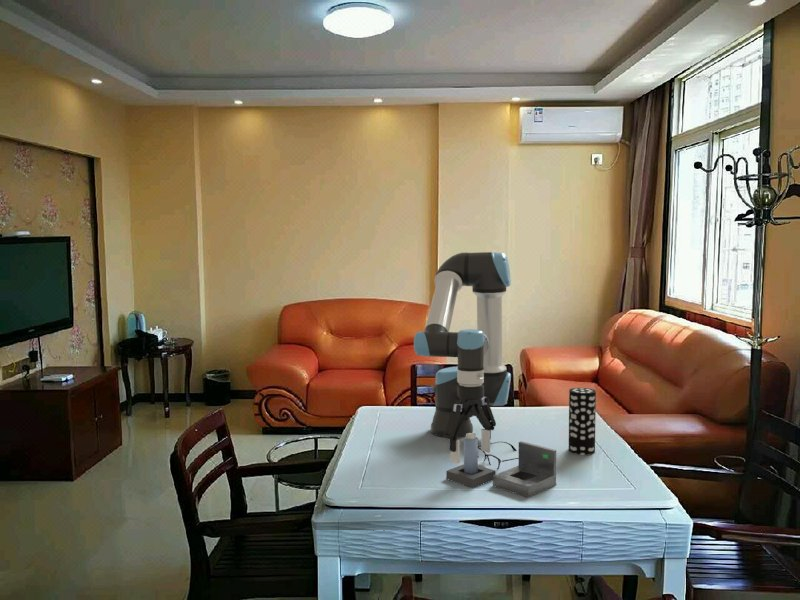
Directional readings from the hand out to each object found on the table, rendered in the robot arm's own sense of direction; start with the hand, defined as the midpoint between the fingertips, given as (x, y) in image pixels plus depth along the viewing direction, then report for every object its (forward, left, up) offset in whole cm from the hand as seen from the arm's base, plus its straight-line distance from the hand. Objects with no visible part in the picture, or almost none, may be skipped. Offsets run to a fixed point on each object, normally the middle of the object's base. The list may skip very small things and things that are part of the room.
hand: (470, 456), depth 191 cm
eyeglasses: (-3, +21, -7) cm, 23 cm away
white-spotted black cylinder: (+9, +45, -7) cm, 46 cm away
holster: (0, 0, -7) cm, 7 cm away
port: (+14, +6, -7) cm, 17 cm away
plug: (0, 0, -7) cm, 7 cm away
